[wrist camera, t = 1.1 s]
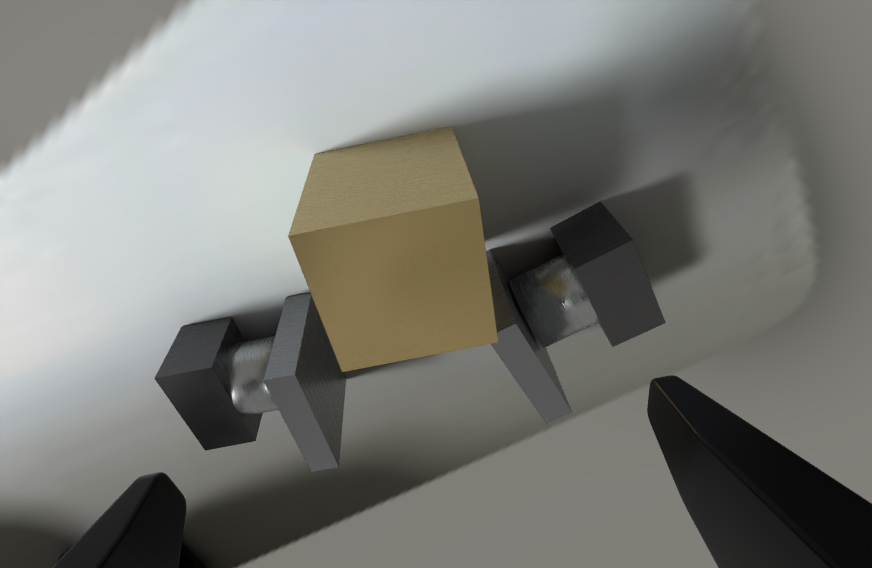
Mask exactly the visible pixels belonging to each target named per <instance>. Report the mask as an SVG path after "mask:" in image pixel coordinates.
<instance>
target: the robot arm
mask: <svg viewBox="0 0 872 568" xmlns="http://www.w3.org/2000/svg"><path fill="white" fill-rule="evenodd" d="M647 411H648V417H649V420H650V423H651V426H652V428H653V431H654V433H655V435H656V438H657V440H658V442H659V445H660V447H661V450H662V452H663V455H664V457H665V460H666V462H667V465H668V467H669V469H670V472H671V474H672V476H673V479H674V481H675V484H676V486H677V489H678V491H679V493H680V496H681V498H682V500H683V502H684V504H685V506H686V508H687V510H688V512H689V514H690V516H691V518H692V520H693V521H694V523H695V525H696V527H697V529H698V531H699V533H700V534H701V536H702V538H703V540H704V542H705V544H706V546H707V547H708V549H709V551H710V553H711V555H712V556H713V558H714V560H715V562H716V564H717V566H718V568H872V503H870V502H868V501H867V500H865V499H864V498H862V497H861V496H859V495H858V494H856V493H855V492H853V491H852V490H850V489H849V488H847V487H845V486H844V485H842V484H841V483H839V482H838V481H836V480H835V479H833V478H832V477H830V476H829V475H827V474H825V473H824V472H823V471H821V470H820V469H818V468H817V467H815V466H813V465H812V464H810V463H809V462H807V461H806V460H804V459H803V458H801V457H800V456H798V455H797V454H795V453H793V452H792V451H790V450H789V449H787V448H786V447H784V446H783V445H781V444H780V443H778V442H777V441H775V440H774V439H772V438H771V437H769V436H768V435H766V434H765V433H763V432H761V431H760V430H758V429H757V428H755V427H754V426H752V425H751V424H749V423H748V422H746V421H745V420H743V419H742V418H740V417H739V416H737V415H735V414H734V413H732V412H731V411H729V410H728V409H726V408H724V407H723V406H722V405H720V404H719V403H717V402H715V401H714V400H713V399H711V398H709V397H708V396H706V395H705V394H703V393H702V392H700V391H699V390H697V389H696V388H694V387H693V386H691V385H689V384H688V383H686V382H685V381H683V380H682V379H680V378H679V377H677V376H673V375H672V376H665V377H660V378H655V379H653V380H652V381H651V383H650V389H649V399H648V408H647ZM185 515H186V500H185V498H184V496H183V494H182V493H181V492H180V490H179V489H178V488H177V487H176V485H175V484H174V483H173V482H172V480H171V479H170V478H169V477H168V476H167V475H166V474H165V473H162V472H159V473H154V474H148V475H144V476H141V477H139V478H138V479H136V480H135V481H134V482H133V483H132V484H131V485H130V486H129V487H128V489H127V490H126V491H125V492H124V493H123V494H122V495H121V496H120V497H119V498H118V499H117V500H116V501H115V502H114V503H113V504H112V505H111V506H110V507H109V509H108V510H107V511H106V512H105V513H104V514H103V515H102V516H101V517H100V518H99V519H98V520H97V521H96V522H95V523H94V524H93V525H92V526H91V527H90V529H89V530H88V531H87V532H86V533H85V534H84V535H83V536H82V537H81V538H80V539H79V540H78V541H77V542H76V543H75V544H74V545H73V546H72V547H71V549H70V550H69V551H68V552H67V553H63V554H62V555H60V557H59V559H58V561H57V563H56V564H55V565H54V566H53V567H52V568H205V567H204V566H203V565H202V564H201V563H200V562H199V561H198V559H197V558H196V557H195V556H194V555H193V554H192V553H191V552H190V551H189V549H188V548H187V547H186V546H185V545H184V544H183V543H182V537H183V529H184V522H185Z"/></svg>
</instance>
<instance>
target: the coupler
mask: <svg viewBox="0 0 872 568" xmlns="http://www.w3.org/2000/svg"><path fill="white" fill-rule="evenodd" d="M288 236H289V239H290V242H291V244H292V247H293V249H294V252H295V254H296V257H297V259H298V262H299V264H300V267H301V269H302V272H303V274H304V277H305V279H306V282H307V285H308V287H309V290H310V292H311V295H312V297H313V300H314V302H315V305H316V307H317V310H318V312H319V315H320V317H321V320H322V322H323V325H324V328H325V330H326V333H327V335H328V338H329V340H330V343H331V345H332V348H333V350H334V353H335V355H336V358H337V360H338V363H339V365H340V368H341V370H342V372H345V371H351V370H356V369H361V368H366V367H371V366H377V365H382V364H387V363H392V362H398V361H403V360H408V359H413V358H419V357H424V356H429V355H434V354H439V353H445V352H450V351H455V350H460V349H466V348H471V347H476V346H481V345H486V344H492V343H497V342H498V337H497V330H496V322H495V315H494V308H493V300H492V293H491V285H490V278H489V271H488V263H487V256H486V249H485V241H484V234H483V226H482V219H481V212H480V204H479V198H478V195H477V192H476V190H475V187H474V184H473V182H472V179H471V177H470V174H469V171H468V169H467V166H466V163H465V161H464V158H463V155H462V153H461V150H460V147H459V145H458V142H457V140H456V137H455V134H454V132H453V129H452V126H451V127H446V128H441V129H436V130H431V131H426V132H421V133H416V134H411V135H406V136H402V137H397V138H392V139H387V140H382V141H377V142H372V143H367V144H362V145H357V146H352V147H347V148H342V149H337V150H333V151H328V152H323V153H318V154H314V157H313V160H312V163H311V167H310V170H309V173H308V176H307V179H306V182H305V185H304V188H303V191H302V195H301V198H300V201H299V204H298V207H297V210H296V213H295V216H294V219H293V223H292V226H291V229H290V232H289V235H288Z"/></svg>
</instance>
